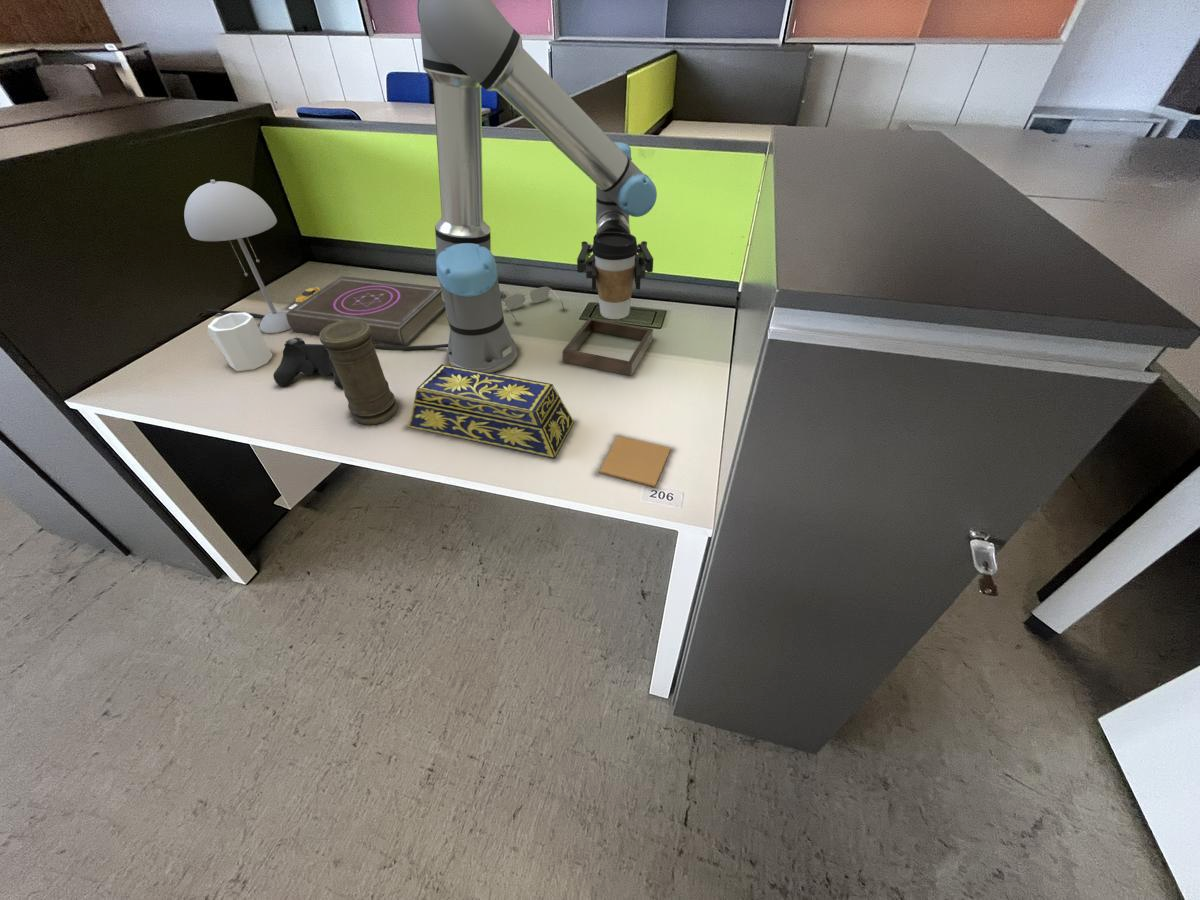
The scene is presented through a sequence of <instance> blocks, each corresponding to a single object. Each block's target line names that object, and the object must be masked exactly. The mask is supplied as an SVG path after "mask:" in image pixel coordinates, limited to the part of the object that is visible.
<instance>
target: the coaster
mask: <svg viewBox="0 0 1200 900" xmlns="http://www.w3.org/2000/svg"><path fill="white" fill-rule="evenodd" d="M670 452H671V447H668V446H664V445H659V444H656V443H651V442H646V441H643V440H638V439H635V438H630V437H626V436H622V435H617V437H616V439H615V441H614V442H613V444H612V446H611V449H610V450H609V452H608V454H607V455H606V458H605V459H604V461H603V463H602V465H601V466H600V468H599V470H598V473H599V474H601V475H606V476H610V477H614V478H617V479H621V480H624V481H629V482H632V483H637V484H641V485H645V486H648V487H651V488H656V486H657V484H658V481H659V479H660V477H661V474H662V471H663V469H664V466H665V464H666V462H667V459H668V457H669V454H670Z"/></svg>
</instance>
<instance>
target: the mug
mask: <svg viewBox="0 0 1200 900" xmlns="http://www.w3.org/2000/svg"><path fill="white" fill-rule="evenodd" d="M242 312H243V313H229V314H224V315H221V316H219V317H215V318H214V319H213V320H212V321H211V322H210V323H209V324H208V325H207V331H206V334H207V335H208V336H209V338H210V339H211V340H212V342H213V343H214V344H215V346H216V347H217V348H218V349H219V350H220V351H221V353H222V354H223V356H224V358H225V360H226V361H227V363H228V365H229V366H230V367H231V368H232V369H234V370H235V371H236V372H241V371H242V372H243V371H251V370H255V369H258V368H259V367H261V366H264V365H266V364H268V363H269V361H270V360H271V358H272V357H273V354H272V351H271V350H270V348H269V346H268V344H267V341H266V339H265V338H264V335H263V334H262V331H261V330H260V329H259V325H258V324H257V322H256V319H255V317H253V316H251V315H250V314H248V313H249V312H247V311H242ZM246 312H247V313H246Z"/></svg>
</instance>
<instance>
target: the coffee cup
mask: <svg viewBox="0 0 1200 900" xmlns="http://www.w3.org/2000/svg"><path fill="white" fill-rule="evenodd" d="M592 245H593V247H592V249H593V251H592V254H594V255H595V263H596V265H595V267H596V289H597V294H598V303H599V312H600V315H601V316H602V317H604V318H606V319H609V320H620V319H623V318H626V317H628V316H629V314H630V311H631V302H632V301H631V300H632V296H633V295H632V293H633V288H634V287H633V285H634V280H635V277H634V271H635V255H636V254H638V253H637V252H638V251H637V249H638V246H637V245H638V242H637V237H636V236H635V235H633V234H632V233H631V234H628V233H623V232H600V233H597V234H596V233H595V234H594V236H593V241H592Z"/></svg>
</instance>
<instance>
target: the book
mask: <svg viewBox="0 0 1200 900" xmlns="http://www.w3.org/2000/svg"><path fill="white" fill-rule="evenodd" d="M320 289H321V290H320V291H318V292H317V293H315V294H314V295H312V296H311V297H309V298H308V299H306V300H305V301H303V302H302V303H300V304H299V305H297V306H296V307H294V308H293V309H289V310H288V311H287V313H286V317H287V321H288V323H289V325H290V327H291V329H290V330H292V332H294V333H302V334H309V335H314V336H317V335H316V334H314V333H320V332H321V331H322V330H323V329H324V328H325V327H327V326H328V325H330V324H333V323H335V322H339V321H343V320H362V321H364V322H366V323H367V324H368V325H369V326H370V328H371V340H372V343H373V344H378V345H389V346H409V344H410V343H411V342H412V341H413V340H414V339H415V338H416V337H417V336H418V335H419V334H420V333H421V332H423V330H424V329H426V327H428V326H429V325H430V324H431V323H432V322H433V321H434V319H436V318H437V317H438V316H439V315H440V314H442V312H443V311H444V310H446V308H445V304H444V299H443V295H442V290H441V286H434V285H425V284H417V283H408V282H400V281H393V280H392V281H390V280H381V279H373V278H366V277H365V278H364V277H356V276H346V275H341V276H339V277H338V278H336V279H334V280H333V281H331V282H330V283H329V284H327V285H326V286H324V287H322V288H320Z"/></svg>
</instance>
